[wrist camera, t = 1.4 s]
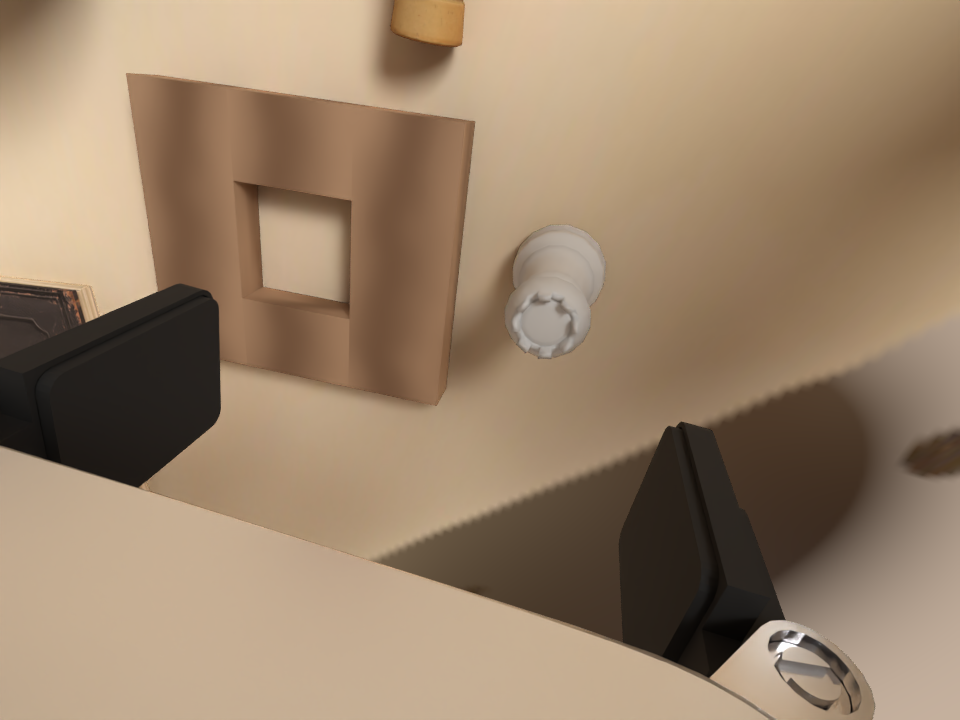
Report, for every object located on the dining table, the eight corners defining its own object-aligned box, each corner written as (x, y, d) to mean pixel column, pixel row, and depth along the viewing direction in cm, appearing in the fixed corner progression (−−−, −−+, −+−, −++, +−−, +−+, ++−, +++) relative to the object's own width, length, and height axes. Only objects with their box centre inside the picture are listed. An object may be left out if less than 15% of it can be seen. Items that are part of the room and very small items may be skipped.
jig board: (474, 121, 25) (465, 123, 23) (445, 388, 31) (436, 405, 29) (157, 75, 27) (126, 73, 25) (190, 334, 33) (166, 347, 31)
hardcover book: (103, 280, 33) (71, 291, 31) (179, 559, 43) (158, 582, 41) (-110, 257, 36) (-152, 266, 34) (9, 526, 46) (-19, 546, 44)
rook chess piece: (523, 214, 26) (494, 255, 19) (616, 231, 26) (622, 281, 18) (507, 301, 28) (476, 368, 21) (594, 319, 28) (591, 394, 20)
